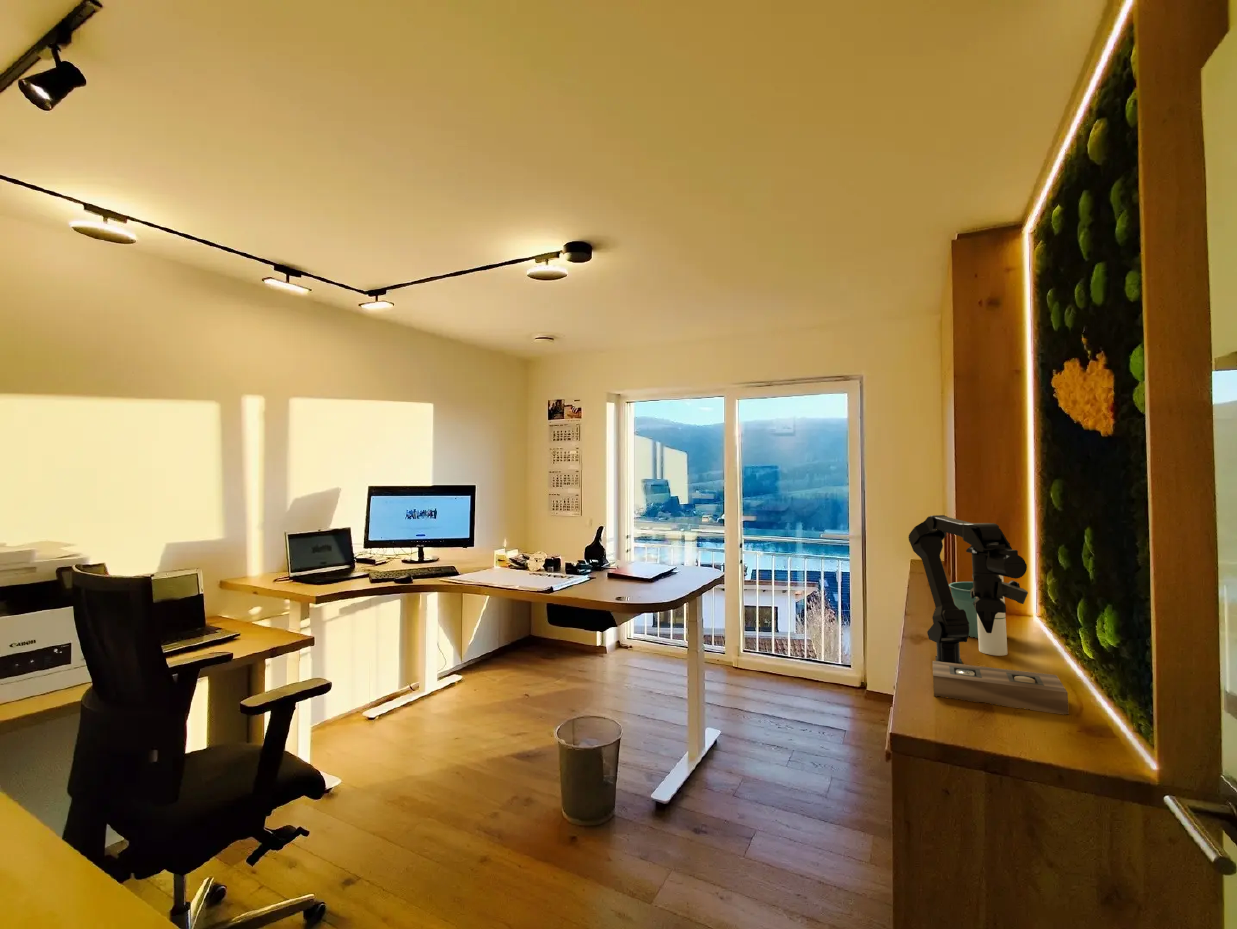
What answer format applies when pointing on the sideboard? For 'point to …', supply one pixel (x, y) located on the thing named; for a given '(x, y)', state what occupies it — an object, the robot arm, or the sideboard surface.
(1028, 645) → the sideboard surface
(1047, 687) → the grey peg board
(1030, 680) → the beech peg
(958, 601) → the flower pot
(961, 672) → the metal peg
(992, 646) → the cylindrical container
